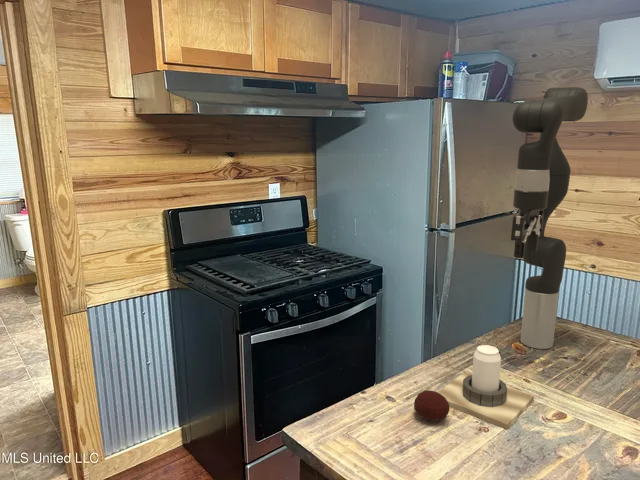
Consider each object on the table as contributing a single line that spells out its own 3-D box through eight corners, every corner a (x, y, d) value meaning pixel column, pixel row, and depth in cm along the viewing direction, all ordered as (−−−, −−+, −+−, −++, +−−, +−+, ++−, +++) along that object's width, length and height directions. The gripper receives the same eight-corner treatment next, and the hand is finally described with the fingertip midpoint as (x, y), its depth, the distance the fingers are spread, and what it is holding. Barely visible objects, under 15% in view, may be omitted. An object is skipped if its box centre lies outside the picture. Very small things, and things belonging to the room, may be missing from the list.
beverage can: (477, 386, 123) (480, 341, 121) (501, 394, 120) (505, 348, 117) (466, 396, 119) (469, 350, 116) (492, 405, 115) (495, 357, 112)
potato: (423, 430, 108) (424, 405, 106) (407, 410, 115) (408, 386, 114) (453, 424, 109) (455, 400, 108) (435, 405, 117) (436, 382, 116)
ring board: (464, 376, 131) (465, 361, 130) (533, 400, 119) (535, 384, 118) (433, 400, 119) (434, 384, 118) (507, 429, 108) (508, 412, 107)
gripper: (526, 184, 125) (521, 246, 128) (503, 189, 114) (498, 257, 118) (557, 186, 120) (551, 251, 123) (537, 192, 109) (530, 262, 113)
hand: (525, 254), depth 121 cm, fingers open, 8 cm apart
